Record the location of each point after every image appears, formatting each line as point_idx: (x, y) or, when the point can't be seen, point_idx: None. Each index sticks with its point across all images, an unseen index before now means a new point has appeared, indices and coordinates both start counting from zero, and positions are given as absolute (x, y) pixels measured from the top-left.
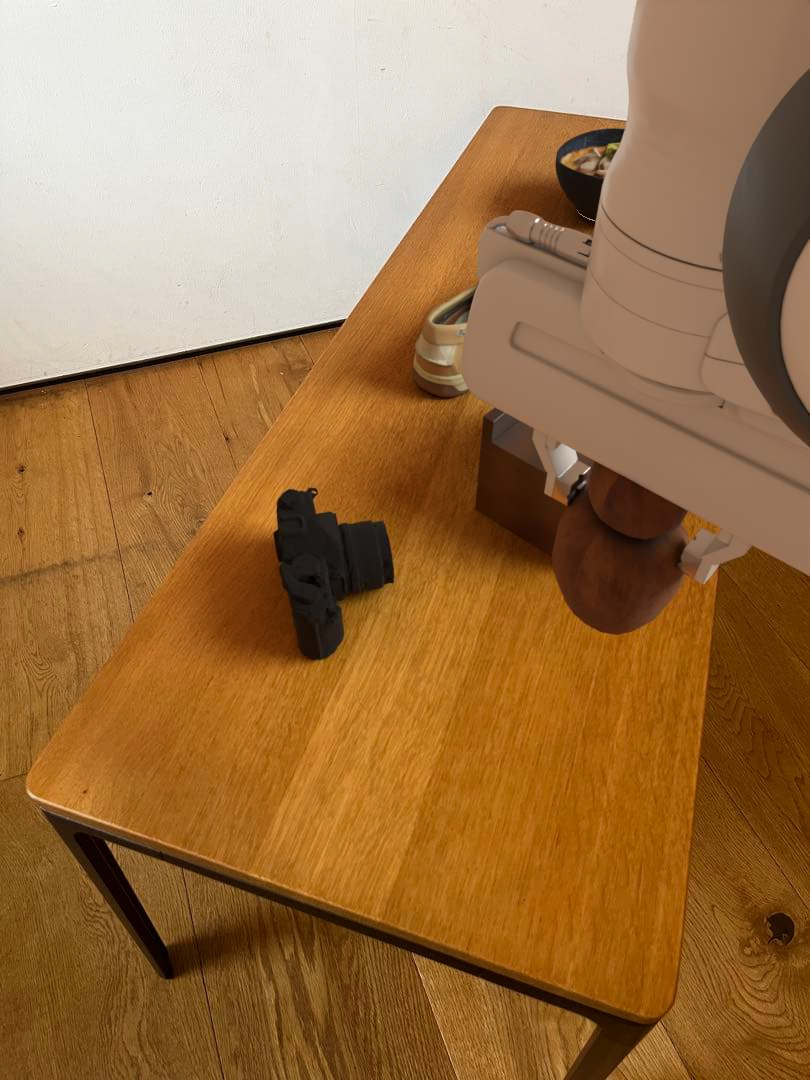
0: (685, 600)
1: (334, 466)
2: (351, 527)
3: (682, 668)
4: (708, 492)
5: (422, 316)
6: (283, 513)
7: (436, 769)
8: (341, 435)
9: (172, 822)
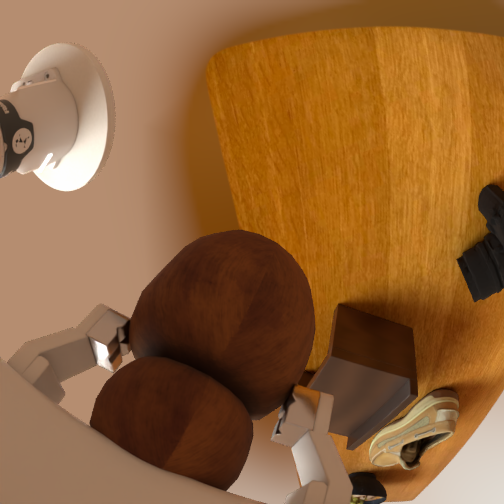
0: None
1: (500, 329)
2: (495, 289)
3: None
4: (8, 432)
5: None
6: None
7: (384, 129)
8: (497, 349)
9: None
